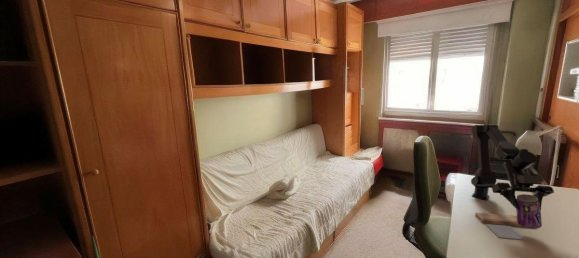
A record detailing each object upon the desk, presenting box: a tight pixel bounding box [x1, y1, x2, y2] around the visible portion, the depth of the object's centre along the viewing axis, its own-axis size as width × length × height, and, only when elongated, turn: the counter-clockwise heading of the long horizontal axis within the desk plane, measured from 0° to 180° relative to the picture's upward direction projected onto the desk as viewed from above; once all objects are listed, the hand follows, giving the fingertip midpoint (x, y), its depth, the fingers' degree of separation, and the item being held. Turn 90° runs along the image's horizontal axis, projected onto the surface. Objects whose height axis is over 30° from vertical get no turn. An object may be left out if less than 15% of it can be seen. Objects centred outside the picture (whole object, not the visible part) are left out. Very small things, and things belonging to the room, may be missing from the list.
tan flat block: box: [474, 212, 522, 227], centre depth 110 cm, size 20×6×2 cm, turn 79°
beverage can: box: [515, 193, 543, 230], centre depth 99 cm, size 7×7×12 cm
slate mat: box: [485, 223, 526, 241], centre depth 102 cm, size 9×9×1 cm
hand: (528, 210), depth 98 cm, fingers closed on beverage can, 7 cm apart
